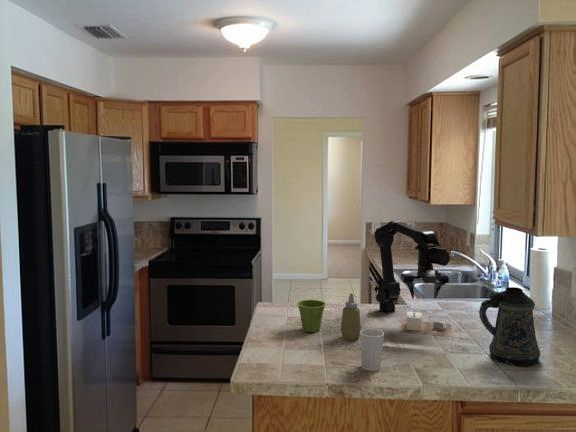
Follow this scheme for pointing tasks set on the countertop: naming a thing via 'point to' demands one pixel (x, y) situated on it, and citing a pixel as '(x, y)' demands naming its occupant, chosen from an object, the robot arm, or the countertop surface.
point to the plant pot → (311, 314)
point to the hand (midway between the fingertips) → (423, 298)
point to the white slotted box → (414, 321)
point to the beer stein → (512, 328)
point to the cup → (371, 349)
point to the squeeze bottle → (351, 320)
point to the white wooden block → (439, 325)
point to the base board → (428, 329)
